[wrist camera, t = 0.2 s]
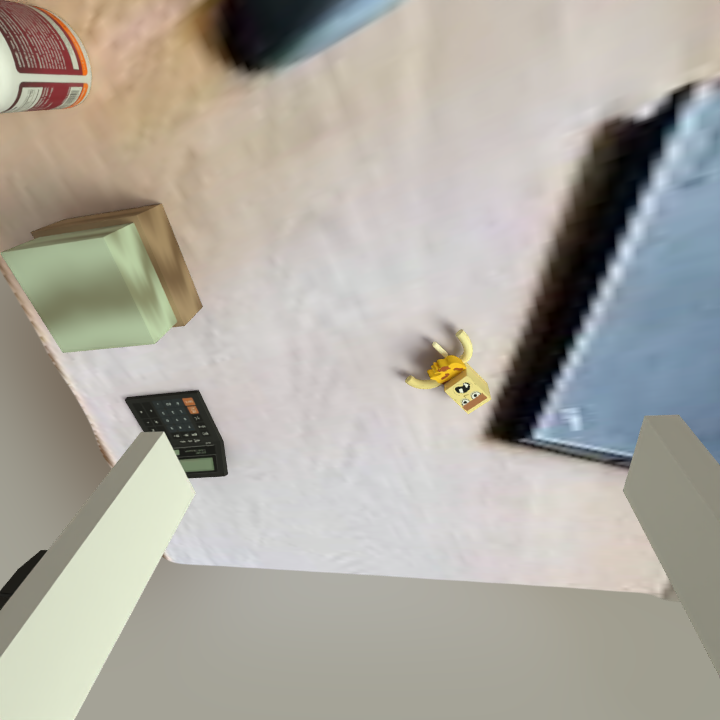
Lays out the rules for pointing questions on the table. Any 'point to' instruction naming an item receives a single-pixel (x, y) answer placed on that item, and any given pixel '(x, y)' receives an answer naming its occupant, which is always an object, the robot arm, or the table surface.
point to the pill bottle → (40, 61)
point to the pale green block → (106, 279)
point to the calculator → (184, 430)
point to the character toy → (456, 377)
